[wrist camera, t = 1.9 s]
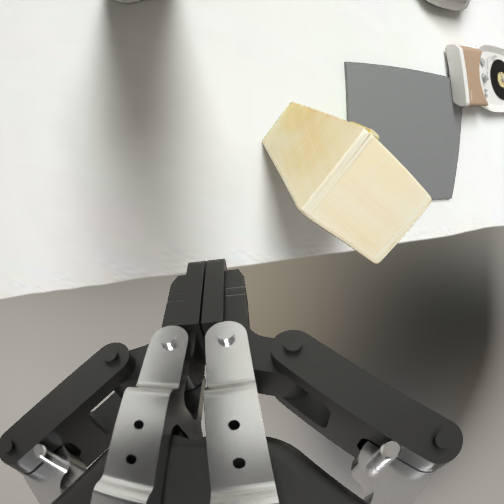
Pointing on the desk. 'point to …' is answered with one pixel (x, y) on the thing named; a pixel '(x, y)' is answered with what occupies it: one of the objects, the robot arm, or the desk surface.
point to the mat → (409, 120)
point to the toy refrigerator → (345, 179)
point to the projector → (451, 4)
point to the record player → (477, 76)
